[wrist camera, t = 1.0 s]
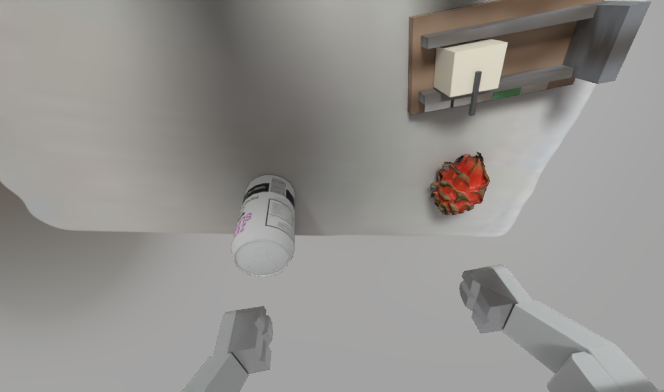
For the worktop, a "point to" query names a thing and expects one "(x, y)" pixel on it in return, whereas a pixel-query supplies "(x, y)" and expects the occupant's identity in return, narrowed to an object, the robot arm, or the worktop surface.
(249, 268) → the supplement can
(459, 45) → the cream block with rod
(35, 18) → the worktop surface
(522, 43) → the base
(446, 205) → the dragon fruit
